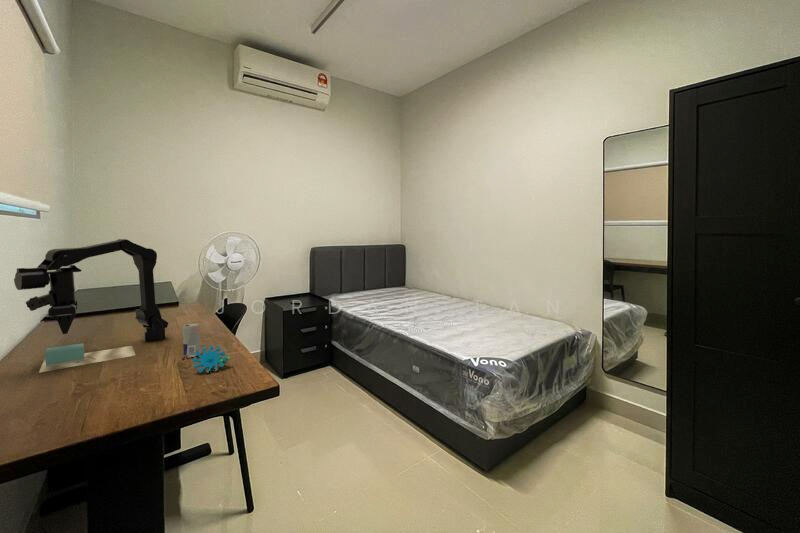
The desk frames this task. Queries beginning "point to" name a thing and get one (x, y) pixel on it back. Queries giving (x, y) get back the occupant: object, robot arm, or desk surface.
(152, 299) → the robot arm
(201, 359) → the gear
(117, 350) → the board
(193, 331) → the energy drink
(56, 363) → the sanding block
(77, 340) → the desk surface
